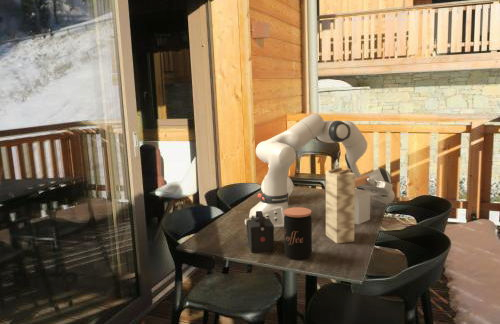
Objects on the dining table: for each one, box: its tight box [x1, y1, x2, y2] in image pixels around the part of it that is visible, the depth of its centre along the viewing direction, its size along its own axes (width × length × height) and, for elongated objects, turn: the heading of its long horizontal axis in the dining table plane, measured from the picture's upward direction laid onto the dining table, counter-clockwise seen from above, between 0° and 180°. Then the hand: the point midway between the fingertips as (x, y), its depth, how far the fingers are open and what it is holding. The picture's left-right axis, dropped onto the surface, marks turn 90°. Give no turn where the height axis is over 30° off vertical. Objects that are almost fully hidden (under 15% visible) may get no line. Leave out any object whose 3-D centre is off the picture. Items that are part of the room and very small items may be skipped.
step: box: [354, 188, 371, 225], centre depth 219 cm, size 10×10×14 cm
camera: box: [245, 211, 275, 253], centre depth 188 cm, size 11×14×15 cm
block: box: [355, 174, 370, 188], centre depth 217 cm, size 20×3×3 cm, turn 135°
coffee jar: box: [283, 206, 313, 261], centre depth 177 cm, size 11×11×18 cm
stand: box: [325, 167, 356, 244], centre depth 193 cm, size 10×11×30 cm
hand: (363, 179), depth 221 cm, fingers closed on block, 3 cm apart
